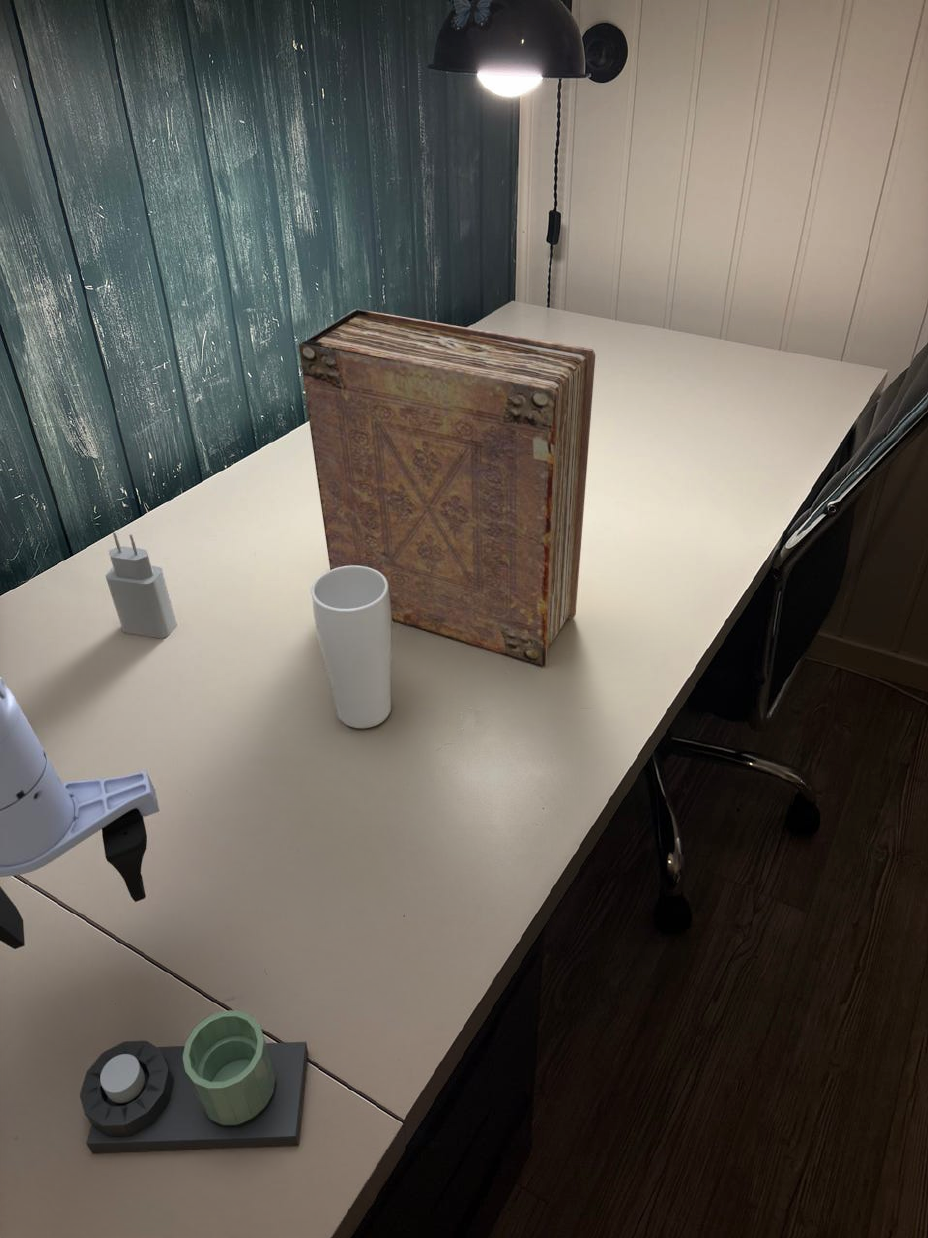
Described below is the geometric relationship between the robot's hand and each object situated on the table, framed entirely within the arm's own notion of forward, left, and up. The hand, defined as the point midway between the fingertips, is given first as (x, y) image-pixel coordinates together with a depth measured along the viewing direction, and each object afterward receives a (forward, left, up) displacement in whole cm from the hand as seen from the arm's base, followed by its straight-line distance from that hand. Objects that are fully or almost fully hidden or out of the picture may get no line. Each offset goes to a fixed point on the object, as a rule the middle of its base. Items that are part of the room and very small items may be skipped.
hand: (79, 911), depth 60 cm
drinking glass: (+25, +20, -10) cm, 34 cm away
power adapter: (+8, +42, -10) cm, 44 cm away
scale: (+4, -10, -10) cm, 15 cm away
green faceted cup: (+7, -11, -9) cm, 15 cm away
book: (+39, +31, -10) cm, 51 cm away
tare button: (0, -9, -7) cm, 11 cm away
